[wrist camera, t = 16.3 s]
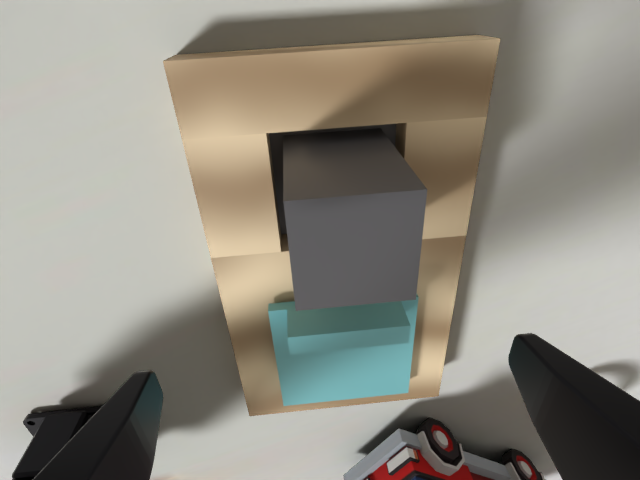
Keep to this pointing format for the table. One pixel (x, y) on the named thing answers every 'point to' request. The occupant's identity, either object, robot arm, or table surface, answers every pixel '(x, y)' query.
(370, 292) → the plug
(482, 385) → the table surface
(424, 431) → the toy fire truck
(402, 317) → the panel
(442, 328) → the socket plate
